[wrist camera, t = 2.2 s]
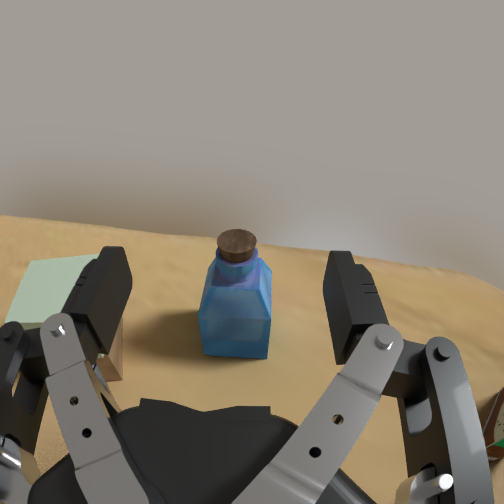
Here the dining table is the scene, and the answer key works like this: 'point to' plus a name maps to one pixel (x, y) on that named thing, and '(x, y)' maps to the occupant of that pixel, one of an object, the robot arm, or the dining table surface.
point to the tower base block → (113, 358)
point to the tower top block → (46, 289)
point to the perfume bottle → (236, 299)
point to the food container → (495, 429)
